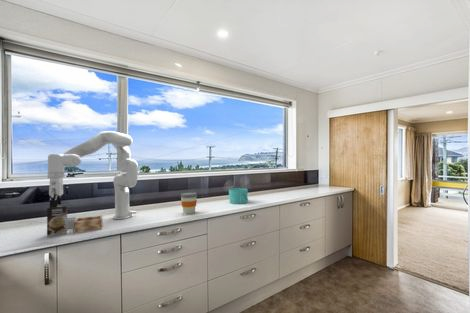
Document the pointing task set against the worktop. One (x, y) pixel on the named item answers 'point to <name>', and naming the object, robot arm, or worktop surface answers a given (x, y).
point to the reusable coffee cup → (188, 202)
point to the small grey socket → (71, 222)
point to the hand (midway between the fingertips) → (55, 205)
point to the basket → (238, 195)
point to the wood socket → (88, 223)
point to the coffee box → (57, 221)
